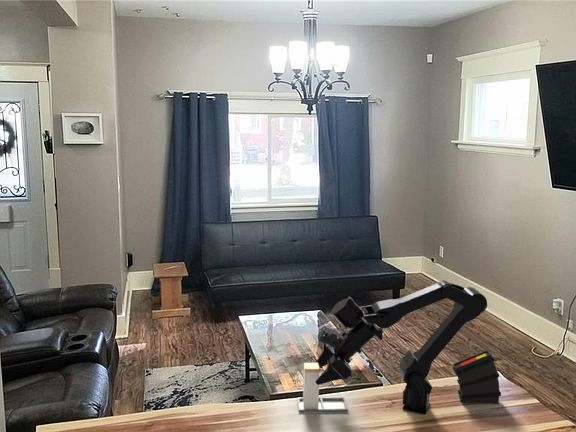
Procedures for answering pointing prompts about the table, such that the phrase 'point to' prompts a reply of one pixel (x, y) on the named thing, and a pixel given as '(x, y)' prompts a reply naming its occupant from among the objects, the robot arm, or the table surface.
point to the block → (310, 386)
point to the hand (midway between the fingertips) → (315, 375)
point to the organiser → (325, 405)
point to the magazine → (478, 379)
